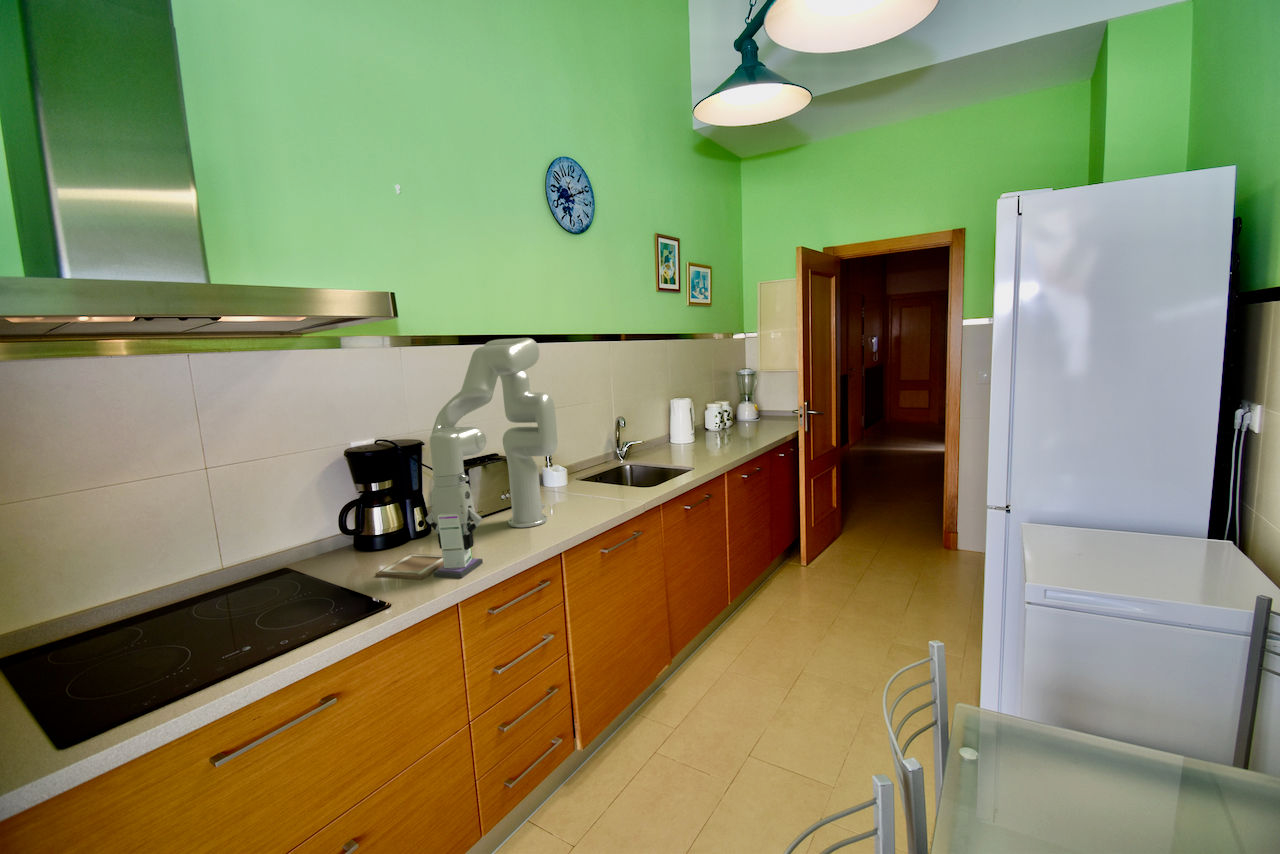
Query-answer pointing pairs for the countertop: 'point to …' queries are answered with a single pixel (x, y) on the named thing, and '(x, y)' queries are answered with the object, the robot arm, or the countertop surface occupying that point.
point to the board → (413, 566)
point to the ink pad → (458, 570)
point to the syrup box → (453, 541)
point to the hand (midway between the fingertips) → (456, 546)
